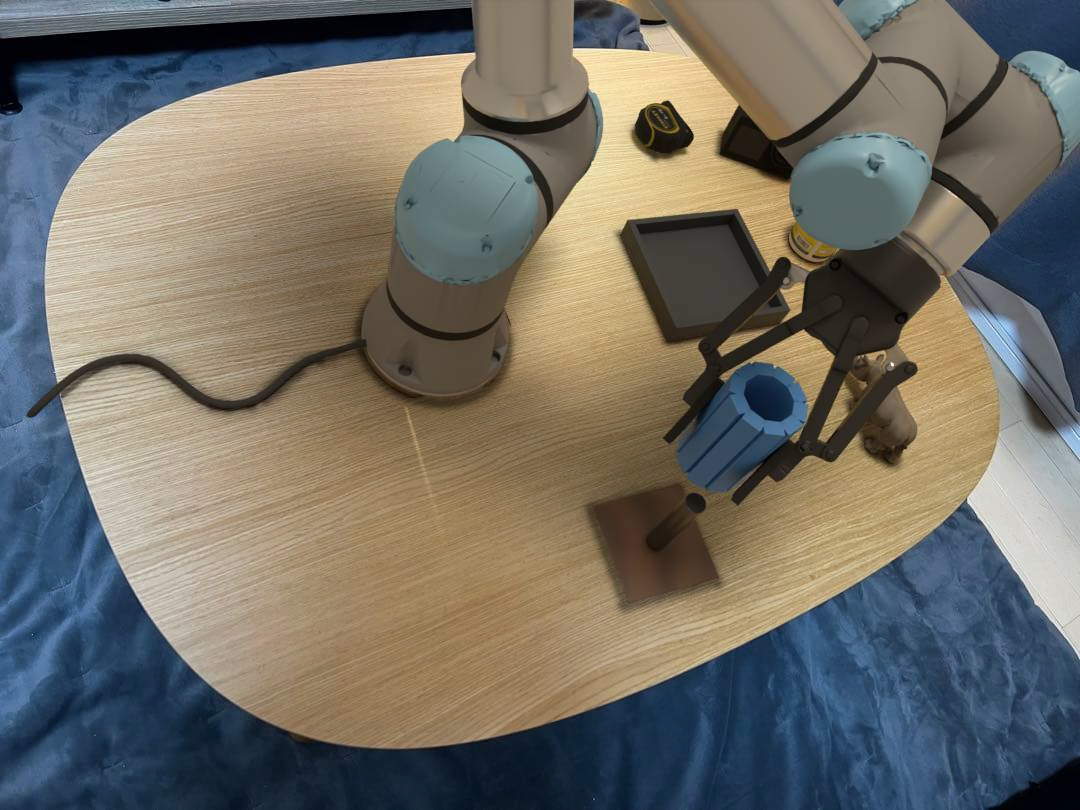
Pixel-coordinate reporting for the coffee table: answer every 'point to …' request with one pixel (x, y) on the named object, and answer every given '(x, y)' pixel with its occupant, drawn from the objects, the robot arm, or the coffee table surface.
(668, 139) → the tape measure
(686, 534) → the stand
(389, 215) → the coffee table surface
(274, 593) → the coffee table surface
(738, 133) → the digital camera
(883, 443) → the rhino figurine
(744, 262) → the tray
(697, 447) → the blue grooved hollow cylinder
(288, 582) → the coffee table surface
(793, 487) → the coffee table surface
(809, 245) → the pill bottle
